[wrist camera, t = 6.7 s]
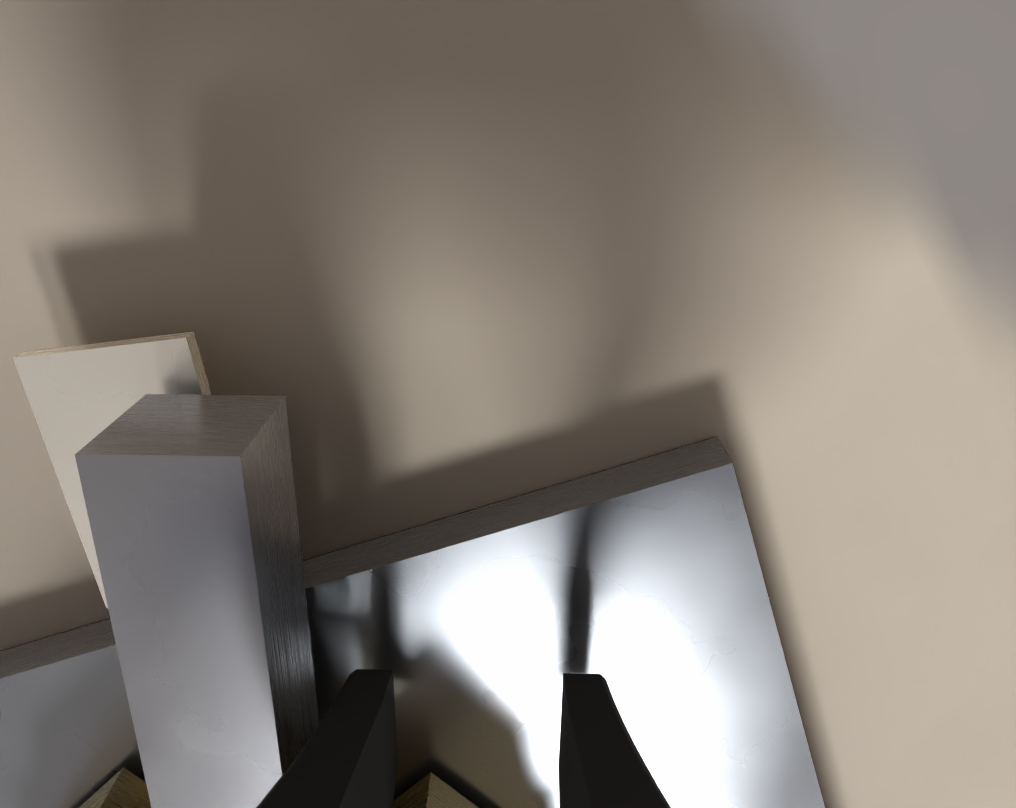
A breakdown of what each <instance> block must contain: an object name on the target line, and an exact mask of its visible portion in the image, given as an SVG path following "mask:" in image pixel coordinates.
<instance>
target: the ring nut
mask: <svg viewBox="0 0 1016 808" xmlns="http://www.w3.org/2000/svg"><path fill="white" fill-rule="evenodd" d="M75 458H76V463H77V468H78V472H79V477H80V481H81V486H82V491H83V495H84V500H85V504H86V509H87V514H88V518H89V523H90V527H91V532H92V537H93V541H94V546H95V550H96V555H97V560H98V564H99V569H100V573H101V578H102V583H103V587H104V592H105V596H106V601H107V606H108V610H109V615H110V619H111V624H112V629H113V633H114V638H115V642H116V647H117V652H118V656H119V661H120V665H121V670H122V675H123V679H124V684H125V688H126V693H127V698H128V702H129V707H130V711H131V716H132V721H133V725H134V730H135V734H136V739H137V744H138V748H139V753H140V757H141V762H142V767H143V771H144V776H145V780H146V782H145V781H143V780H142V779H140V778H139V777H137V776H135V775H134V774H132V773H131V772H129V771H128V770H126V769H125V768H122V769H121V770H120V771H119V772H118V773H117V774H115V775H114V776H113V777H112V778H111V779H110V780H109V781H108V782H107V783H105V784H104V785H103V786H102V787H101V788H100V789H99V790H98V791H97V792H95V793H94V794H93V795H92V796H91V797H90V798H89V799H88V800H87V801H85V802H84V803H83V804H82V805H81V806H80V807H79V808H256V807H257V806H258V805H259V804H260V803H261V801H262V800H263V799H264V798H265V796H266V795H267V794H268V793H269V791H270V790H271V789H272V788H273V786H274V785H275V784H276V783H277V781H278V780H279V779H280V778H281V776H282V775H283V774H284V773H285V771H286V770H287V769H288V767H289V766H290V764H291V763H292V762H293V760H294V759H295V758H296V756H297V755H298V753H299V752H300V751H301V749H302V748H303V746H304V745H305V744H306V742H307V741H308V739H309V738H310V737H311V735H312V734H313V732H314V731H315V729H316V728H317V726H318V725H319V715H318V705H317V696H316V686H315V677H314V667H313V658H312V648H311V638H310V629H309V619H308V610H307V600H306V591H305V581H304V572H303V562H302V553H301V543H300V533H299V524H298V514H297V505H296V495H295V486H294V476H293V467H292V457H291V448H290V438H289V428H288V419H287V409H286V400H285V396H276V395H185V394H146V395H144V396H143V397H142V398H141V399H140V400H139V401H137V402H136V403H135V404H134V405H133V406H131V407H130V408H129V409H128V410H127V411H126V412H124V413H123V414H122V415H121V416H120V417H118V418H117V419H116V420H115V421H114V422H113V423H111V424H110V425H109V426H108V427H107V428H105V429H104V430H103V431H102V432H101V433H100V434H98V435H97V436H96V437H95V438H94V439H92V440H91V441H90V442H89V443H88V444H87V445H85V446H84V447H83V448H82V449H81V450H79V451H78V452H77V453H76V454H75ZM392 808H478V807H477V806H475V805H474V804H473V803H471V802H470V801H469V800H467V799H466V798H465V797H463V796H462V795H461V794H459V793H458V792H457V791H455V790H454V789H453V788H451V787H450V786H449V785H447V784H446V783H445V782H443V781H442V780H441V779H439V778H438V777H437V776H435V775H434V774H433V773H431V772H430V773H429V774H427V775H426V776H425V777H423V778H422V779H421V780H419V781H418V782H417V783H415V784H414V785H413V786H411V787H410V788H409V789H408V790H406V791H405V792H404V793H402V794H401V795H400V796H398V797H397V798H396V799H394V800H393V806H392Z"/></svg>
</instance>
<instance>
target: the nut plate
mask: <svg viewBox="0 0 1016 808" xmlns="http://www.w3.org/2000/svg"><path fill="white" fill-rule="evenodd" d="M13 361H14V364H15V366H16V369H17V372H18V374H19V377H20V380H21V382H22V385H23V388H24V390H25V393H26V396H27V398H28V401H29V404H30V406H31V409H32V412H33V414H34V417H35V420H36V422H37V425H38V428H39V430H40V433H41V436H42V438H43V441H44V444H45V446H46V449H47V452H48V454H49V457H50V459H51V462H52V465H53V467H54V470H55V473H56V475H57V478H58V481H59V483H60V486H61V489H62V491H63V494H64V497H65V499H66V502H67V505H68V507H69V510H70V513H71V515H72V518H73V521H74V523H75V526H76V529H77V531H78V534H79V537H80V539H81V542H82V545H83V547H84V550H85V553H86V555H87V558H88V561H89V563H90V566H91V569H92V571H93V574H94V577H95V579H96V582H97V585H98V587H99V590H100V593H101V595H102V598H103V601H104V603H105V606H106V608H108V606H107V601H106V596H105V592H104V587H103V583H102V578H101V573H100V569H99V564H98V560H97V555H96V550H95V546H94V541H93V537H92V532H91V527H90V523H89V518H88V514H87V509H86V504H85V500H84V495H83V491H82V486H81V481H80V477H79V472H78V468H77V463H76V458H75V454H76V453H77V452H78V451H79V450H81V449H82V448H83V447H84V446H85V445H87V444H88V443H89V442H90V441H91V440H92V439H94V438H95V437H96V436H97V435H98V434H100V433H101V432H102V431H103V430H104V429H105V428H107V427H108V426H109V425H110V424H111V423H113V422H114V421H115V420H116V419H117V418H118V417H120V416H121V415H122V414H123V413H124V412H126V411H127V410H128V409H129V408H130V407H131V406H133V405H134V404H135V403H136V402H137V401H139V400H140V399H141V398H142V397H143V396H144V395H146V394H185V395H212V394H211V391H210V387H209V384H208V380H207V377H206V373H205V370H204V366H203V363H202V359H201V356H200V352H199V348H198V345H197V341H196V338H195V334H194V332H186V333H178V334H169V335H161V336H152V337H144V338H135V339H127V340H119V341H110V342H102V343H93V344H85V345H77V346H68V347H60V348H51V349H43V350H35V351H26V352H23V353H21V354H19V355H17V356H16V357H14V358H13ZM302 562H303V572H304V581H305V591H306V600H307V610H308V619H309V629H310V638H311V648H312V658H313V667H314V677H315V686H316V696H317V705H318V715H319V723H320V722H321V720H322V719H323V717H324V716H325V714H326V713H327V711H328V710H329V708H330V707H331V705H332V704H333V702H334V700H335V699H336V697H337V695H338V694H339V692H340V691H341V689H342V687H343V685H344V684H345V682H346V680H347V678H348V677H349V675H350V674H351V673H352V672H353V671H355V670H356V669H377V670H393V680H394V699H395V718H396V737H397V756H398V766H397V775H396V783H395V791H394V799H396V798H397V797H398V796H400V795H401V794H402V793H404V792H405V791H406V790H408V789H409V788H410V787H411V786H413V785H414V784H415V783H417V782H418V781H419V780H421V779H422V778H423V777H425V776H426V775H427V774H429V773H430V772H431V773H433V774H434V775H435V776H437V777H438V778H439V779H441V780H442V781H443V782H445V783H446V784H447V785H449V786H450V787H451V788H453V789H454V790H455V791H457V792H458V793H459V794H461V795H462V796H463V797H465V798H466V799H467V800H469V801H470V802H471V803H473V804H474V805H475V806H477V807H478V808H560V802H559V772H558V763H559V744H560V724H561V705H562V686H563V673H579V674H601V675H602V676H603V677H604V678H605V679H606V680H607V683H608V686H609V689H610V691H611V694H612V696H613V699H614V701H615V704H616V706H617V708H618V711H619V713H620V715H621V717H622V719H623V722H624V724H625V726H626V728H627V730H628V732H629V734H630V736H631V738H632V740H633V742H634V744H635V746H636V748H637V749H638V751H639V753H640V755H641V757H642V759H643V760H644V762H645V764H646V766H647V768H648V769H649V771H650V773H651V775H652V776H653V778H654V780H655V782H656V783H657V785H658V787H659V789H660V790H661V792H662V794H663V795H664V797H665V798H666V800H667V802H668V803H669V805H670V807H671V808H825V806H824V802H823V798H822V795H821V791H820V787H819V783H818V780H817V776H816V772H815V769H814V765H813V761H812V757H811V754H810V750H809V746H808V742H807V739H806V735H805V731H804V728H803V724H802V720H801V716H800V713H799V709H798V705H797V701H796V698H795V694H794V690H793V687H792V683H791V679H790V675H789V672H788V668H787V664H786V660H785V657H784V653H783V649H782V646H781V642H780V638H779V634H778V631H777V627H776V623H775V619H774V616H773V612H772V608H771V605H770V601H769V597H768V593H767V590H766V586H765V582H764V578H763V575H762V571H761V567H760V564H759V560H758V556H757V552H756V549H755V545H754V541H753V537H752V534H751V530H750V526H749V523H748V519H747V515H746V511H745V508H744V504H743V500H742V497H741V493H740V489H739V485H738V482H737V478H736V474H735V470H734V467H733V463H732V461H731V459H730V458H729V456H728V454H727V452H726V450H725V449H724V447H723V445H722V443H721V442H720V440H719V438H718V437H714V438H711V439H708V440H704V441H701V442H698V443H694V444H691V445H688V446H684V447H681V448H678V449H674V450H671V451H668V452H664V453H661V454H658V455H654V456H651V457H648V458H644V459H641V460H638V461H634V462H631V463H628V464H624V465H621V466H618V467H614V468H611V469H608V470H604V471H601V472H598V473H594V474H591V475H588V476H584V477H581V478H577V479H574V480H571V481H567V482H564V483H561V484H557V485H554V486H551V487H547V488H544V489H541V490H537V491H534V492H531V493H527V494H524V495H521V496H517V497H514V498H511V499H507V500H504V501H501V502H497V503H494V504H491V505H487V506H484V507H481V508H477V509H474V510H471V511H467V512H464V513H461V514H457V515H454V516H451V517H447V518H444V519H441V520H437V521H434V522H431V523H427V524H424V525H421V526H417V527H414V528H411V529H407V530H404V531H401V532H397V533H394V534H391V535H387V536H384V537H381V538H377V539H374V540H371V541H367V542H364V543H361V544H357V545H354V546H351V547H347V548H344V549H341V550H337V551H334V552H331V553H327V554H324V555H321V556H317V557H314V558H311V559H307V560H304V561H302ZM122 768H125V769H126V770H128V771H129V772H131V773H132V774H134V775H135V776H137V777H139V778H140V779H142V780H143V781H145V782H146V780H145V776H144V771H143V767H142V762H141V757H140V753H139V748H138V744H137V739H136V734H135V730H134V725H133V721H132V716H131V711H130V707H129V702H128V698H127V693H126V688H125V684H124V679H123V675H122V670H121V665H120V661H119V656H118V652H117V647H116V642H115V638H114V633H113V629H112V624H111V619H107V620H104V621H100V622H97V623H94V624H90V625H87V626H84V627H80V628H77V629H74V630H70V631H67V632H64V633H60V634H57V635H54V636H50V637H47V638H44V639H40V640H37V641H34V642H30V643H27V644H24V645H20V646H17V647H14V648H10V649H7V650H4V651H0V808H79V807H80V806H81V805H82V804H83V803H84V802H85V801H87V800H88V799H89V798H90V797H91V796H92V795H93V794H94V793H95V792H97V791H98V790H99V789H100V788H101V787H102V786H103V785H104V784H105V783H107V782H108V781H109V780H110V779H111V778H112V777H113V776H114V775H115V774H117V773H118V772H119V771H120V770H121V769H122ZM394 799H393V800H394Z"/></svg>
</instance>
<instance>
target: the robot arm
mask: <svg viewBox="0 0 1016 808" xmlns="http://www.w3.org/2000/svg"><path fill="white" fill-rule="evenodd" d="M397 766H398V756H397V737H396V718H395V699H394V680H393V670H377V669H356V670H355V671H353V672H352V673H351V674H350V675H349V677H348V678H347V680H346V682H345V684H344V685H343V687H342V689H341V691H340V692H339V694H338V695H337V697H336V699H335V700H334V702H333V704H332V705H331V707H330V708H329V710H328V711H327V713H326V714H325V716H324V717H323V719H322V720H321V722H320V723H319V725H318V726H317V728H316V729H315V731H314V732H313V734H312V735H311V737H310V738H309V739H308V741H307V742H306V744H305V745H304V746H303V748H302V749H301V751H300V752H299V753H298V755H297V756H296V758H295V759H294V760H293V762H292V763H291V764H290V766H289V767H288V769H287V770H286V771H285V773H284V774H283V775H282V776H281V778H280V779H279V780H278V781H277V783H276V784H275V785H274V786H273V788H272V789H271V790H270V791H269V793H268V794H267V795H266V796H265V798H264V799H263V800H262V801H261V803H260V804H259V805H258V806H257V807H256V808H392V806H393V799H394V791H395V783H396V775H397ZM558 772H559V802H560V808H671V807H670V805H669V803H668V802H667V800H666V798H665V797H664V795H663V794H662V792H661V790H660V789H659V787H658V785H657V783H656V782H655V780H654V778H653V776H652V775H651V773H650V771H649V769H648V768H647V766H646V764H645V762H644V760H643V759H642V757H641V755H640V753H639V751H638V749H637V748H636V746H635V744H634V742H633V740H632V738H631V736H630V734H629V732H628V730H627V728H626V726H625V724H624V722H623V719H622V717H621V715H620V713H619V711H618V708H617V706H616V704H615V701H614V699H613V696H612V694H611V691H610V689H609V686H608V683H607V680H606V679H605V678H604V677H603V676H602V675H601V674H579V673H563V686H562V705H561V724H560V744H559V763H558Z"/></svg>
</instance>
